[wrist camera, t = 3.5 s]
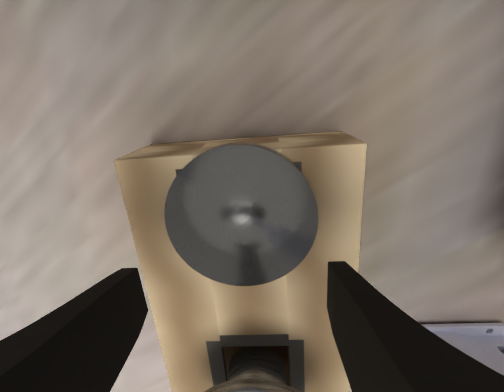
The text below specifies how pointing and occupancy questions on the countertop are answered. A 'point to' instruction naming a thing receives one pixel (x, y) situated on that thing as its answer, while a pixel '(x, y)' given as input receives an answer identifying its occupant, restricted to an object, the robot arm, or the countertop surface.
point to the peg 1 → (241, 214)
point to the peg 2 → (255, 372)
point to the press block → (248, 297)
